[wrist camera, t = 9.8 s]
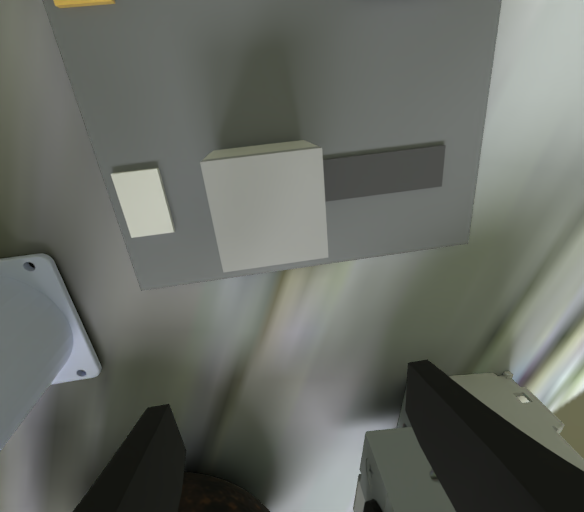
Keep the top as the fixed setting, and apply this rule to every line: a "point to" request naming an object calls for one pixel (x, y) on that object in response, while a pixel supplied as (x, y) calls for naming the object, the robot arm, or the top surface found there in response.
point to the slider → (267, 204)
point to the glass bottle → (215, 496)
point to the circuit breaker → (414, 465)
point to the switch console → (282, 115)
